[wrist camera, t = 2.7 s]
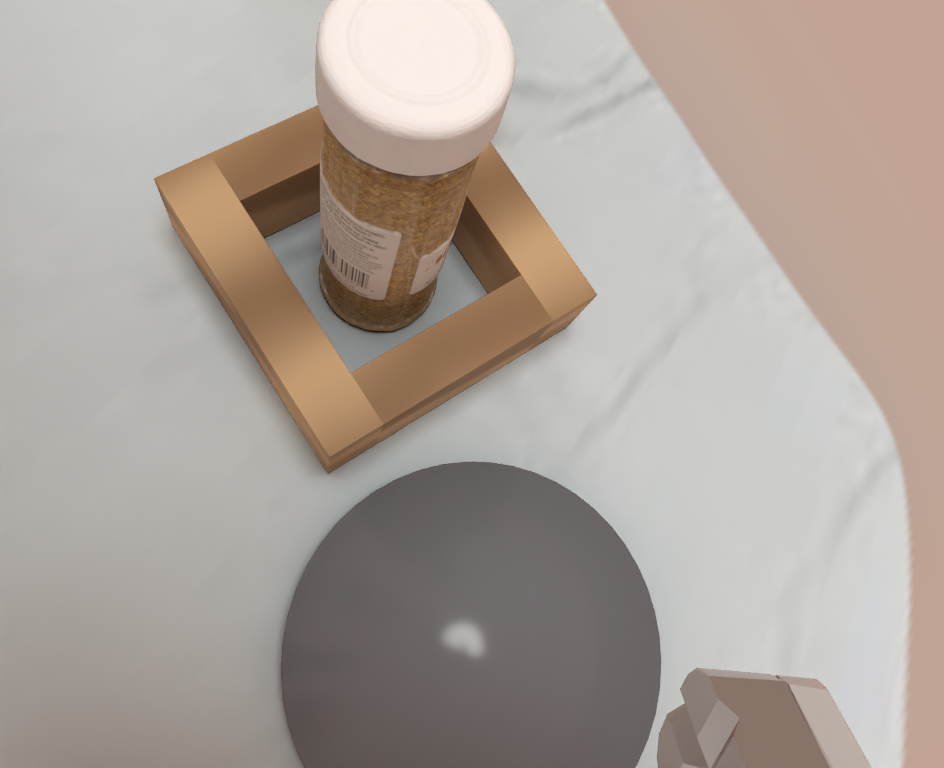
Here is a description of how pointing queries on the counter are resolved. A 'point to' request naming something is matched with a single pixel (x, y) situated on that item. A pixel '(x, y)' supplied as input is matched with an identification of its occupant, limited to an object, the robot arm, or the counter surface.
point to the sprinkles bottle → (401, 144)
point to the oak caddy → (297, 331)
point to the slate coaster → (471, 631)
